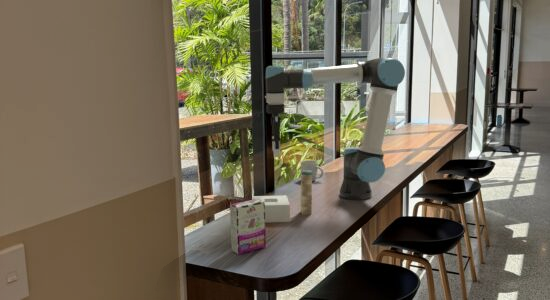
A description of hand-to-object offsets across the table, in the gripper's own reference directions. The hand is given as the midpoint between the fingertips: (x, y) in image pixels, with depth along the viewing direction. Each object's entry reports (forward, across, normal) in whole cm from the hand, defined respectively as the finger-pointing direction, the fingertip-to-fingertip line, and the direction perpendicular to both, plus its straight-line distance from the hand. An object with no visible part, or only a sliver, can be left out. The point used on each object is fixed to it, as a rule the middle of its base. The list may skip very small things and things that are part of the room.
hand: (276, 153), depth 207 cm
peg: (+24, +6, +12) cm, 28 cm away
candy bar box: (+24, +46, -12) cm, 53 cm away
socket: (+24, +11, -3) cm, 27 cm away
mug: (+25, -51, +21) cm, 61 cm away
